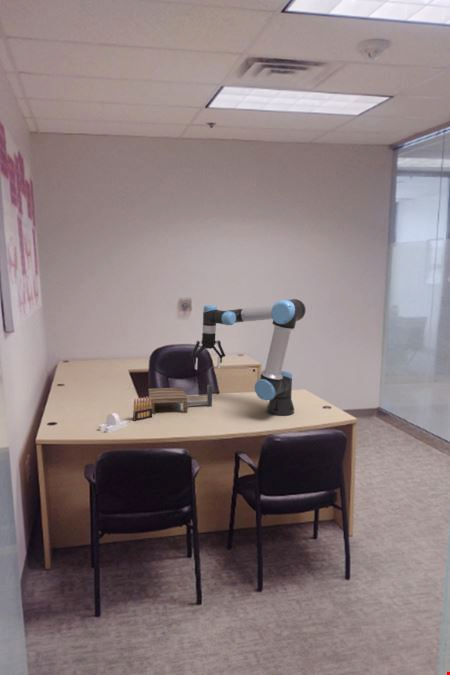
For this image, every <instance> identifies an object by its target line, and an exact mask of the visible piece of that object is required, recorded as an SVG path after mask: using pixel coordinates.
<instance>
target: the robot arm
mask: <svg viewBox="0 0 450 675" xmlns="http://www.w3.org/2000/svg"><path fill="white" fill-rule="evenodd" d="M202 314H203V315H202V334H201V336H202V337H201V340H196V343H195V345H194V348H193V349H192V350H191V353H190V354H189V355H190V357H191V358H193V361H192V363H193V364H194V370H196V371H197V370H198V361H199V360H198V357H199V355H200V354H201V353H202V352H203V351H204V350H207V349H208V350H209V349H210V350H211V349H213V351H214V352H215V353H216V355H218V356H217V362H216V363H217V364H216V366H217V367H216V368H217V369H218V370H221V364H222V362H223V358H225V357H226V354H225V352H224V349H223V347H222V345H221V342H222V341H221V340H216V332H217V330H216V328H217V324H220V325H225V326H233V325H234V324H235V323H245V322H256V321H266V320H273V321H272V322H271V323H272V325H273V327H274V328H273V332H272V336H271V337H272V338H271V342H270V345H269V351H268V354H267V358H266V362H265V363H266V364H265V368H264V370H262V371H261V372H260V377H259V379H258V380H256V381H255V384H254V392H255V394H256V396H257V397H258V398H259V399H261V400H262V401H268V404H267V406H266V412H267V413H268V414H270V415H273V416H291V415H293V414H295V406H294V403H293V400H292V392H293V388H292V387H293V375H292V372H289V371H285V370H284V371H283V366H284V362H285V357H286V352H287V348H288V344H289V340H290V337H291V332H292V331H293V330H294V329H295V327H296V324H297V322H299V321H300V320H301V319H303V318H304V316H305V314H306V306H305V303H304V302H303V301H301V300H299V299H297V298H292V299H281V300H278V302H275V303H274V305H265V306H263V305H262V306H256V307H255V306H254V307H246V308H236V309H231V310H230V309H227V310H222V309H221V310H219V309H218V307H217V305H212V304H207V305H204V306H203V312H202ZM200 345H201V346H200ZM215 345H217V347H218V349H219V350H218V349H217V348H216V346H215ZM199 346H200V348H199Z"/></svg>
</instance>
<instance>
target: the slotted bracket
mask: <svg viewBox="0 0 450 675" xmlns="http://www.w3.org/2000/svg"><path fill="white" fill-rule="evenodd" d="M126 426H127V427H128V421H127V420H124V421H122V419H120V416H119V414H117V413H116V412H112V413H108V414H107V416H106V422H105V423H102V424H99V425H98V429H99V430H100V431H99V430H98V431H99V432H103V431H104V432H105V433H106V434H110V433H113V432H115V431H118V430H120V428H121V429H124V428H127V427H126ZM123 427H124V428H123ZM117 429H118V430H117ZM112 431H113V432H112ZM109 432H110V433H109Z"/></svg>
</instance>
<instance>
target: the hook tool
mask: <svg viewBox="0 0 450 675" xmlns="http://www.w3.org/2000/svg"><path fill="white" fill-rule="evenodd" d="M206 387H207V388H206V389H207V390H206V391H207V392H206V393H207V394H206V395H207V397H206V398H207V400H203V401H202V400H199V401H187V410H188V409H189V406H193V405H196V406H197V405H207V407H208V408H211V407H213V386H212V384H207V386H206Z"/></svg>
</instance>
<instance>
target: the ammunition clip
mask: <svg viewBox="0 0 450 675" xmlns="http://www.w3.org/2000/svg"><path fill="white" fill-rule="evenodd" d="M132 412H133V413H132V414H133V415H132V419H133V421H134V422H138V421H143V420H148V419H151V418H153V415H152V408H151V397H150V396H149V395H148V396H146V397H145V396H143V398H142V397H140V398H139V397H138V398H137V399H136V398H134V400H133V411H132ZM147 418H148V419H147Z"/></svg>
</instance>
